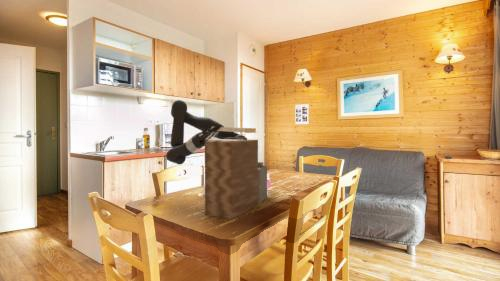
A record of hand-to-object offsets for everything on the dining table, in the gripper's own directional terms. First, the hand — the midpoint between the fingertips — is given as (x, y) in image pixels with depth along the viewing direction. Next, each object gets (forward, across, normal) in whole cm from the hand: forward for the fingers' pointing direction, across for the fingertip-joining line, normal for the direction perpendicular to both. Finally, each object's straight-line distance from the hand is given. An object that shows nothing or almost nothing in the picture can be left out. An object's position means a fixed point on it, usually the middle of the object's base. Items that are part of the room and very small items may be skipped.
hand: (220, 126), depth 133 cm
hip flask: (-6, +15, +41) cm, 44 cm away
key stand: (-10, -6, +39) cm, 40 cm away
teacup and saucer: (-33, +12, +27) cm, 44 cm away
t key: (+4, 0, +6) cm, 7 cm away
